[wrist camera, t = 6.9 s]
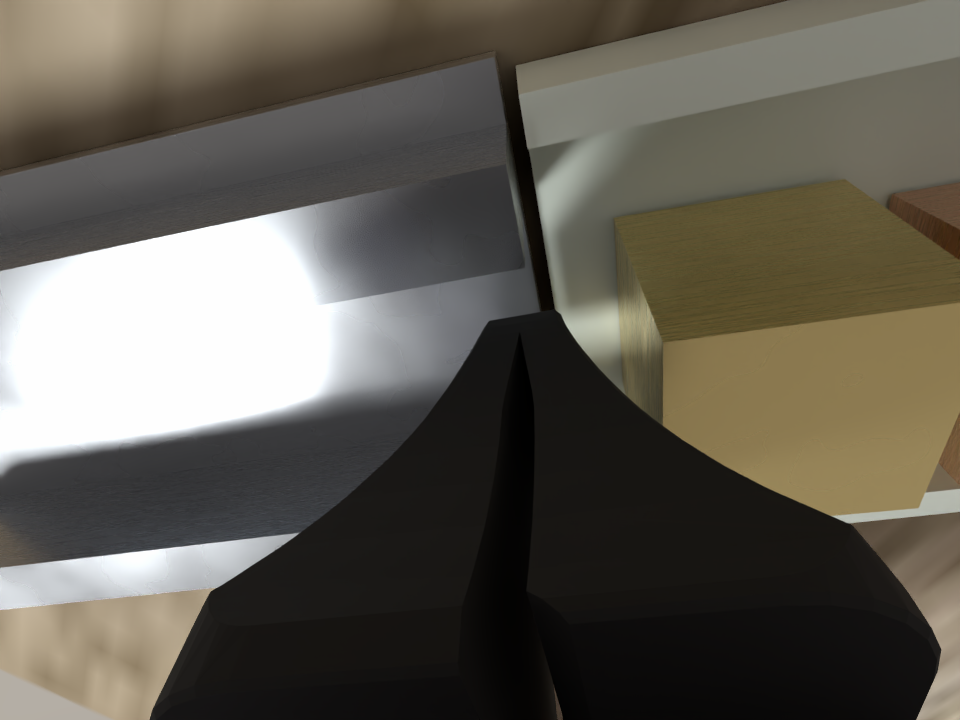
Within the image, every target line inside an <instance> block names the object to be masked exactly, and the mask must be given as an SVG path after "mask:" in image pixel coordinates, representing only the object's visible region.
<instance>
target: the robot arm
mask: <svg viewBox="0 0 960 720" xmlns="http://www.w3.org/2000/svg"><path fill="white" fill-rule="evenodd" d="M940 654H941V648H940V646H939V643H938V641H937V639H936V637H935V635H934V632H933V630H932V628H931V627H930V625H929V624H928V622H927V621H926V619H925V617H924V616H923V614H922V613H921V611H920V610H919V608H918V607H917V605H916V604H915V602H914V601H913V599H912V598H911V596H910V595H909V593H908V592H907V590H906V589H905V588H904V586H903V585H902V584H901V583H900V582H899V580H898V579H897V578H896V577H895V575H894V574H893V573H892V572H891V571H890V569H889V568H888V567H887V566H886V564H885V563H884V562H883V561H882V560H881V558H880V557H879V556H878V555H877V554H876V553H875V551H874V550H873V549H872V548H871V547H870V545H869V544H868V543H867V542H866V541H865V539H864V538H863V537H862V536H861V535H860V534H859V533H858V531H857V530H856V529H855V528H854V527H853V526H852V525H851V524H848V523H846V522H844V521H841V520H839V519H837V518H835V517H832V516H830V515H828V514H825V513H823V512H821V511H818V510H816V509H814V508H812V507H809V506H807V505H805V504H802V503H800V502H798V501H796V500H793V499H791V498H789V497H786V496H784V495H782V494H779V493H777V492H775V491H773V490H771V489H768V488H766V487H764V486H762V485H760V484H758V483H756V482H755V481H753V480H751V479H749V478H747V477H745V476H743V475H741V474H739V473H737V472H735V471H734V470H732V469H730V468H728V467H726V466H724V465H722V464H721V463H719V462H718V461H716V460H714V459H713V458H711V457H709V456H708V455H706V454H705V453H703V452H701V451H700V450H698V449H696V448H695V447H693V446H692V445H690V444H688V443H687V442H685V441H684V440H682V439H681V438H679V437H678V436H676V435H675V434H674V433H672V432H671V431H670V430H668V429H667V428H665V427H664V426H663V425H661V424H660V423H658V422H657V421H656V420H655V419H653V418H652V417H651V416H650V415H648V414H647V413H646V412H645V411H643V410H642V409H641V408H640V407H639V406H637V405H636V404H635V403H634V402H633V401H632V400H630V399H629V398H628V397H627V396H626V395H625V394H624V393H623V392H622V391H621V390H620V389H619V388H618V387H617V386H616V385H615V384H614V383H613V382H612V381H611V380H610V379H608V377H607V376H606V375H605V374H604V373H603V372H602V371H601V370H600V369H599V368H598V367H597V366H596V364H595V363H594V362H593V361H592V360H591V359H590V357H589V356H588V355H587V354H586V353H585V351H584V350H583V349H582V348H581V346H580V345H579V344H578V342H577V341H576V340H575V338H574V337H573V335H572V334H571V332H570V331H569V329H568V328H567V326H566V324H565V322H564V320H563V318H562V315H561V314H560V313H559V312H557V311H556V310H549V311H543V312H537V313H531V314H525V315H520V316H514V317H508V318H502V319H496V320H491V321H489V322H488V323H487V324H486V326H485V327H484V329H483V330H482V332H481V334H480V336H479V337H478V339H477V341H476V343H475V345H474V346H473V348H472V350H471V351H470V353H469V355H468V356H467V358H466V360H465V361H464V363H463V365H462V366H461V368H460V369H459V371H458V372H457V374H456V375H455V377H454V379H453V380H452V382H451V383H450V385H449V386H448V388H447V389H446V390H445V392H444V393H443V395H442V396H441V397H440V399H439V400H438V401H437V403H436V404H435V405H434V407H433V408H432V409H431V411H430V412H429V413H428V415H427V416H426V417H425V419H424V420H423V421H422V422H421V424H420V425H419V426H418V427H417V428H416V430H415V431H414V432H413V433H412V434H411V435H410V436H409V437H408V438H407V440H406V441H405V442H404V443H403V444H402V445H401V446H400V447H399V448H398V449H397V450H396V451H395V452H394V453H393V454H392V455H391V456H390V457H389V458H388V459H387V460H386V461H385V462H384V463H383V464H382V465H381V466H380V467H379V468H378V469H376V470H375V471H374V472H373V473H372V474H371V475H370V476H369V477H368V478H367V479H366V480H364V481H363V482H362V483H361V484H360V485H359V486H358V487H357V488H356V489H355V490H354V491H352V492H351V493H350V494H349V495H348V496H347V497H345V498H344V499H343V500H342V501H341V502H339V503H338V504H337V505H336V506H334V507H333V508H332V509H331V510H329V511H328V512H327V513H326V514H324V515H323V516H322V517H321V518H319V519H318V520H317V521H315V522H314V523H313V524H311V525H310V526H309V527H307V528H306V529H305V530H303V531H302V532H301V533H299V534H298V535H296V536H295V537H294V538H292V539H291V540H289V541H288V542H287V543H285V544H284V545H282V546H281V547H279V548H278V549H276V550H275V551H273V552H272V553H270V554H269V555H267V556H266V557H264V558H263V559H261V560H260V561H258V562H257V563H255V564H253V565H252V566H250V567H249V568H247V569H246V570H244V571H243V572H241V573H240V574H238V575H237V576H235V577H234V578H232V579H231V580H229V581H227V582H226V583H224V584H223V585H221V586H219V587H218V588H216V589H214V590H213V591H211V592H210V594H209V596H208V598H207V599H206V601H205V603H204V605H203V607H202V609H201V611H200V613H199V615H198V617H197V619H196V621H195V623H194V625H193V627H192V629H191V631H190V633H189V635H188V637H187V639H186V642H185V644H184V646H183V648H182V650H181V652H180V654H179V656H178V658H177V660H176V662H175V664H174V666H173V668H172V670H171V673H170V675H169V677H168V679H167V681H166V683H165V685H164V687H163V689H162V691H161V693H160V695H159V697H158V699H157V701H156V704H155V706H154V708H153V710H152V713H151V717H150V720H557V714H556V704H555V694H554V687H555V691H556V694H557V697H558V701H559V704H560V708H561V711H562V715H563V720H916V719H917V717H918V714H919V712H920V710H921V708H922V705H923V703H924V701H925V699H926V696H927V694H928V692H929V690H930V687H931V685H932V683H933V681H934V678H935V676H936V674H937V671H938V666H939V660H940Z"/></svg>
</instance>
